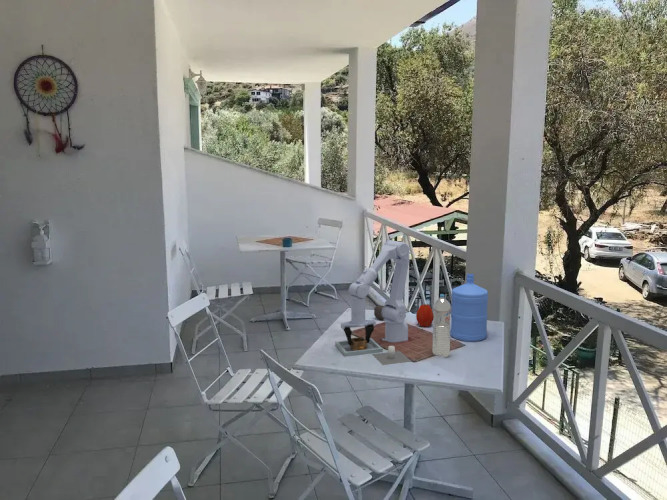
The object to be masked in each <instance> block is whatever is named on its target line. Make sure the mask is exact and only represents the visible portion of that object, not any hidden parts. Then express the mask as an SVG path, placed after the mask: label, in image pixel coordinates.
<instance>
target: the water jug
mask: <svg viewBox="0 0 667 500" xmlns="http://www.w3.org/2000/svg"><path fill="white" fill-rule="evenodd" d="M474 276H475V275H474V274H473V273H467V274H466V283H464V284H461V285H459V286H457V287H454V288H452V290H451V310H450V336H451V337H452V338H454V339H457V340H458V341H464V342H479V341H483V340H485V339H487V336H488V331H487V330H488V328H487V325H488V303H489V292H488V290H487V289H486V288H484V287H482V286H479V285H477V284H475V281H474V280H475V278H474Z"/></svg>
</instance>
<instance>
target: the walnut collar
mask: <svg viewBox="0 0 667 500" xmlns="http://www.w3.org/2000/svg"><path fill="white" fill-rule="evenodd" d="M349 347H350V349H351V350H352V351H358V350H366V349H368V343H367V341H366V340H365V338H364V337H363V336H360V337H351V345H349Z"/></svg>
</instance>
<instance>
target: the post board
mask: <svg viewBox="0 0 667 500" xmlns="http://www.w3.org/2000/svg"><path fill="white" fill-rule="evenodd" d="M371 355H372V356H373V357H374V358H375V359H376V360H377V362H379V363H380V364H381V365H382V366H385V365H386V366H387V365H394V364H401V363H402V364H403V363H410V362H413V361H412V360H411V359H410V358H408V357H407V356H406V355H405V354H404V353H403V352H402V351H401V350H398V351H396V347H395V345H388V347H387V352H380V353H372V354H371Z"/></svg>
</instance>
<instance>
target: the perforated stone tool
mask: <svg viewBox="0 0 667 500" xmlns="http://www.w3.org/2000/svg"><path fill="white" fill-rule="evenodd" d="M383 307H384V305H381V304H380V305H379V304H378V305H376V306H375V307H374V308H373V310H374V311H373V315H374V318H376V319H378V320H382V321H384V318H383V317H382V309H383Z"/></svg>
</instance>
